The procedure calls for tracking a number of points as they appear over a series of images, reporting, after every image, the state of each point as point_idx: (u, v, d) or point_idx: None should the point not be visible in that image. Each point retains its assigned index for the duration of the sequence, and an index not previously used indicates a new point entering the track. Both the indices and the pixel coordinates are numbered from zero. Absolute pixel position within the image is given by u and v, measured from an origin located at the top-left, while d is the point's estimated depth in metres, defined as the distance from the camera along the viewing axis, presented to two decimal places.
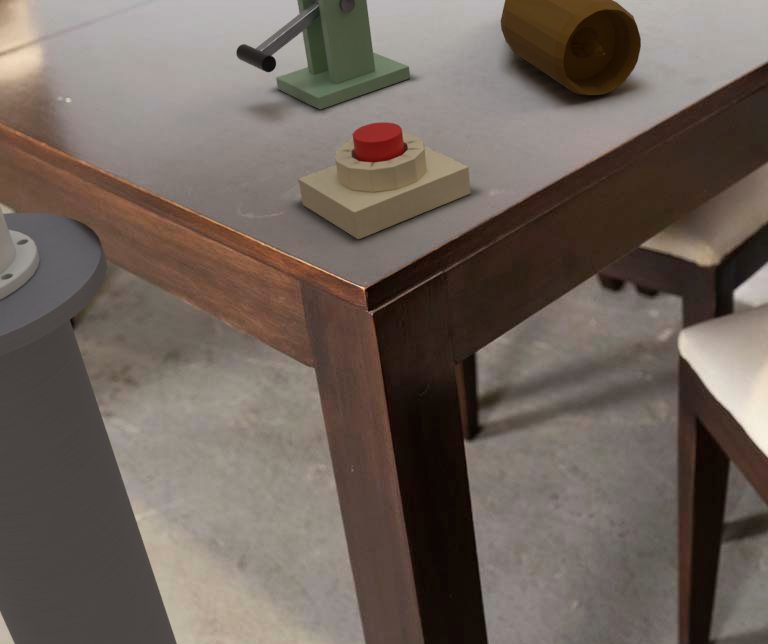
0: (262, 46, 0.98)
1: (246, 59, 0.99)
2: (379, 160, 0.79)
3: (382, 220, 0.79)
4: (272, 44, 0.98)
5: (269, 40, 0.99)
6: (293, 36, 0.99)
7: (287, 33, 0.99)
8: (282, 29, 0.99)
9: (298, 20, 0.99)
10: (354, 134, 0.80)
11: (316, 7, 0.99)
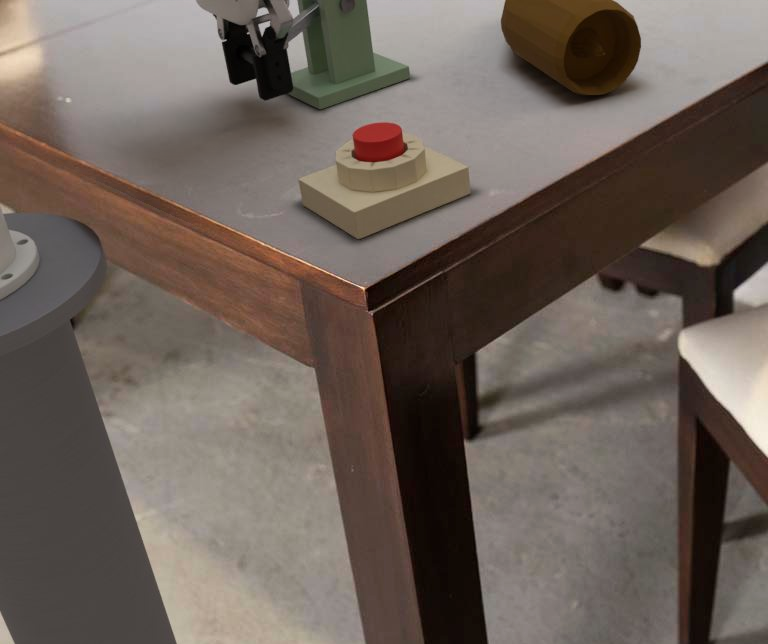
0: None
1: (246, 59, 0.99)
2: (379, 160, 0.79)
3: (382, 220, 0.79)
4: None
5: None
6: (293, 36, 0.99)
7: None
8: None
9: (298, 20, 0.99)
10: (354, 134, 0.80)
11: (316, 7, 0.99)
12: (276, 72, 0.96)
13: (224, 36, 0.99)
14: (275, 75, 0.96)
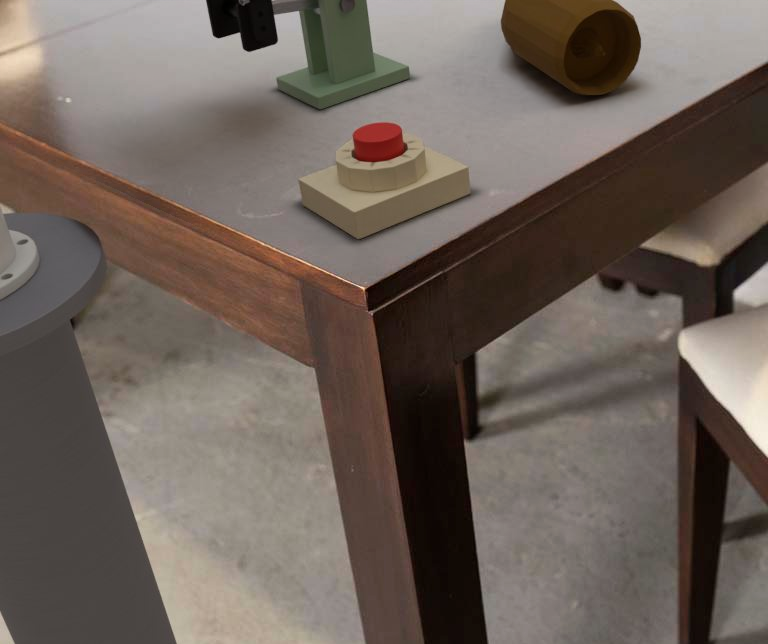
0: None
1: (232, 10, 0.96)
2: (379, 160, 0.79)
3: (382, 220, 0.79)
4: None
5: None
6: (284, 11, 0.98)
7: (280, 4, 0.97)
8: (276, 0, 0.98)
9: None
10: (354, 134, 0.80)
11: None
12: (260, 22, 0.93)
13: None
14: (259, 25, 0.93)
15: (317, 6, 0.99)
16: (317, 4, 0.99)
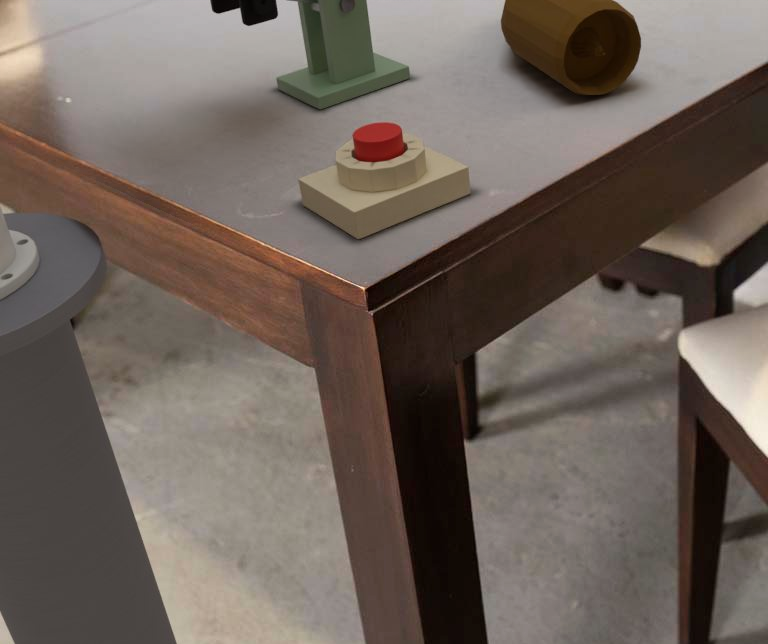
0: None
1: None
2: (379, 160, 0.79)
3: (382, 220, 0.79)
4: None
5: None
6: None
7: None
8: None
9: None
10: (354, 134, 0.80)
11: None
12: None
13: None
14: None
15: (316, 1, 0.99)
16: None
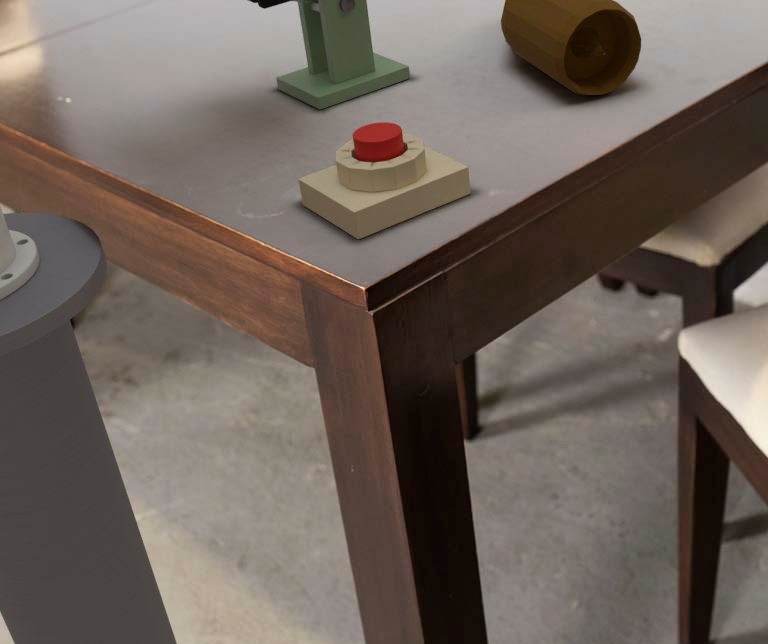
0: None
1: None
2: (379, 160, 0.79)
3: (382, 220, 0.79)
4: None
5: None
6: None
7: None
8: None
9: None
10: (354, 134, 0.80)
11: None
12: None
13: None
14: None
15: (316, 2, 0.99)
16: (317, 0, 0.99)
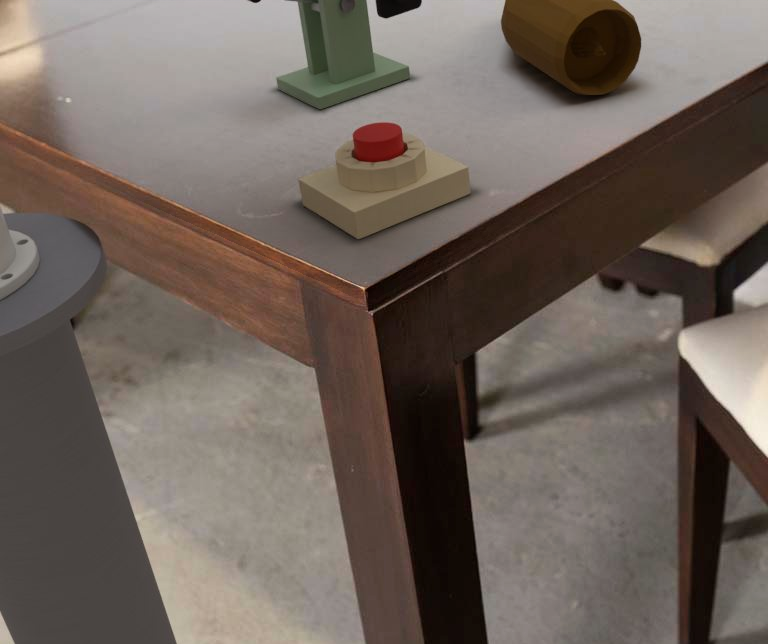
0: None
1: None
2: (379, 160, 0.79)
3: (382, 220, 0.79)
4: None
5: None
6: None
7: None
8: None
9: None
10: (354, 134, 0.80)
11: None
12: None
13: None
14: None
15: (316, 2, 0.99)
16: (317, 0, 0.99)
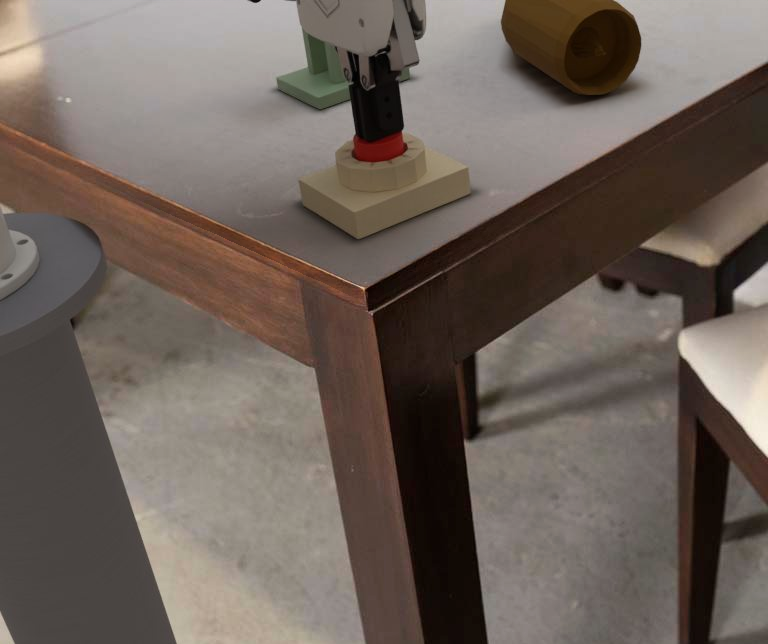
0: None
1: None
2: None
3: (382, 220, 0.79)
4: None
5: None
6: None
7: None
8: None
9: None
10: (354, 137, 0.80)
11: None
12: (386, 108, 0.78)
13: (351, 74, 0.77)
14: (385, 112, 0.78)
15: None
16: None
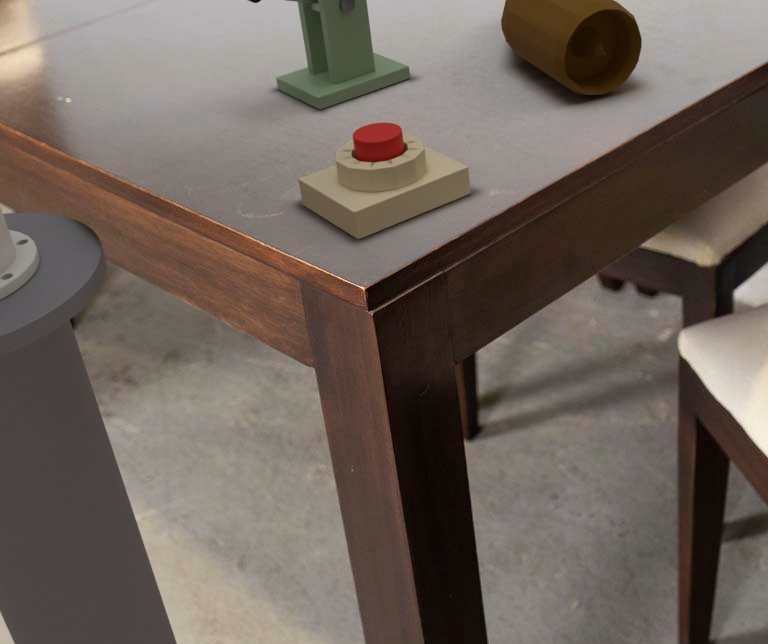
0: None
1: None
2: (379, 160, 0.79)
3: (382, 220, 0.79)
4: None
5: None
6: None
7: None
8: None
9: None
10: (354, 134, 0.80)
11: None
12: None
13: None
14: None
15: (316, 2, 0.99)
16: (317, 0, 0.99)
